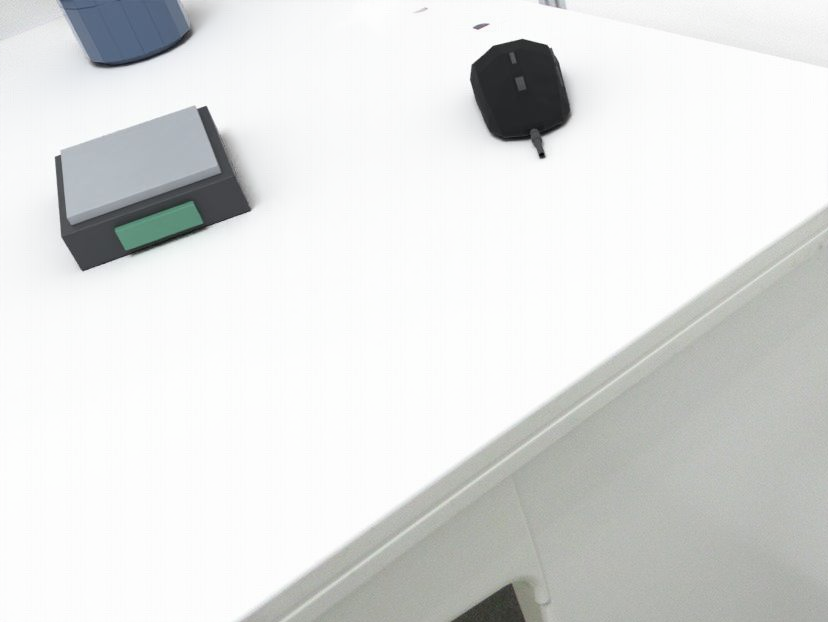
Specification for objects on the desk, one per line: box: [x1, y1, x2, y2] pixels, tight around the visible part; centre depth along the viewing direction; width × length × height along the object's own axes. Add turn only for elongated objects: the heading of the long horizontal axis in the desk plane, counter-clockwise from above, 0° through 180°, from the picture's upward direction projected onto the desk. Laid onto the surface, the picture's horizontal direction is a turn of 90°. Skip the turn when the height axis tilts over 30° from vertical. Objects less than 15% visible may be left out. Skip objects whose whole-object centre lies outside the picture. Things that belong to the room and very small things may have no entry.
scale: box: [54, 104, 252, 272], centre depth 73 cm, size 15×11×3 cm
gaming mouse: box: [469, 38, 571, 159], centre depth 73 cm, size 6×15×4 cm, turn 12°
